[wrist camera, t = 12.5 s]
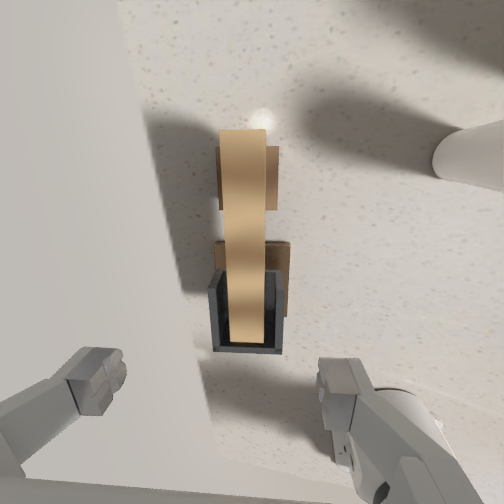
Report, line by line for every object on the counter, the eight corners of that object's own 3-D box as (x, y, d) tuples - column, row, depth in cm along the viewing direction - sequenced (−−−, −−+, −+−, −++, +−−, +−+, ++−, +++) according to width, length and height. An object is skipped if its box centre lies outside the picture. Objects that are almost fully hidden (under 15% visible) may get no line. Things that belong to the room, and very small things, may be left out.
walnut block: (275, 201, 30) (277, 210, 24) (228, 201, 30) (219, 210, 25) (276, 149, 28) (278, 146, 22) (226, 149, 28) (215, 147, 23)
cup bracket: (286, 312, 36) (292, 365, 26) (220, 310, 36) (203, 361, 27) (289, 242, 32) (298, 276, 22) (215, 241, 32) (194, 274, 23)
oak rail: (228, 135, 22) (218, 130, 18) (265, 135, 22) (265, 129, 18) (235, 315, 29) (230, 341, 25) (264, 316, 29) (263, 342, 25)
